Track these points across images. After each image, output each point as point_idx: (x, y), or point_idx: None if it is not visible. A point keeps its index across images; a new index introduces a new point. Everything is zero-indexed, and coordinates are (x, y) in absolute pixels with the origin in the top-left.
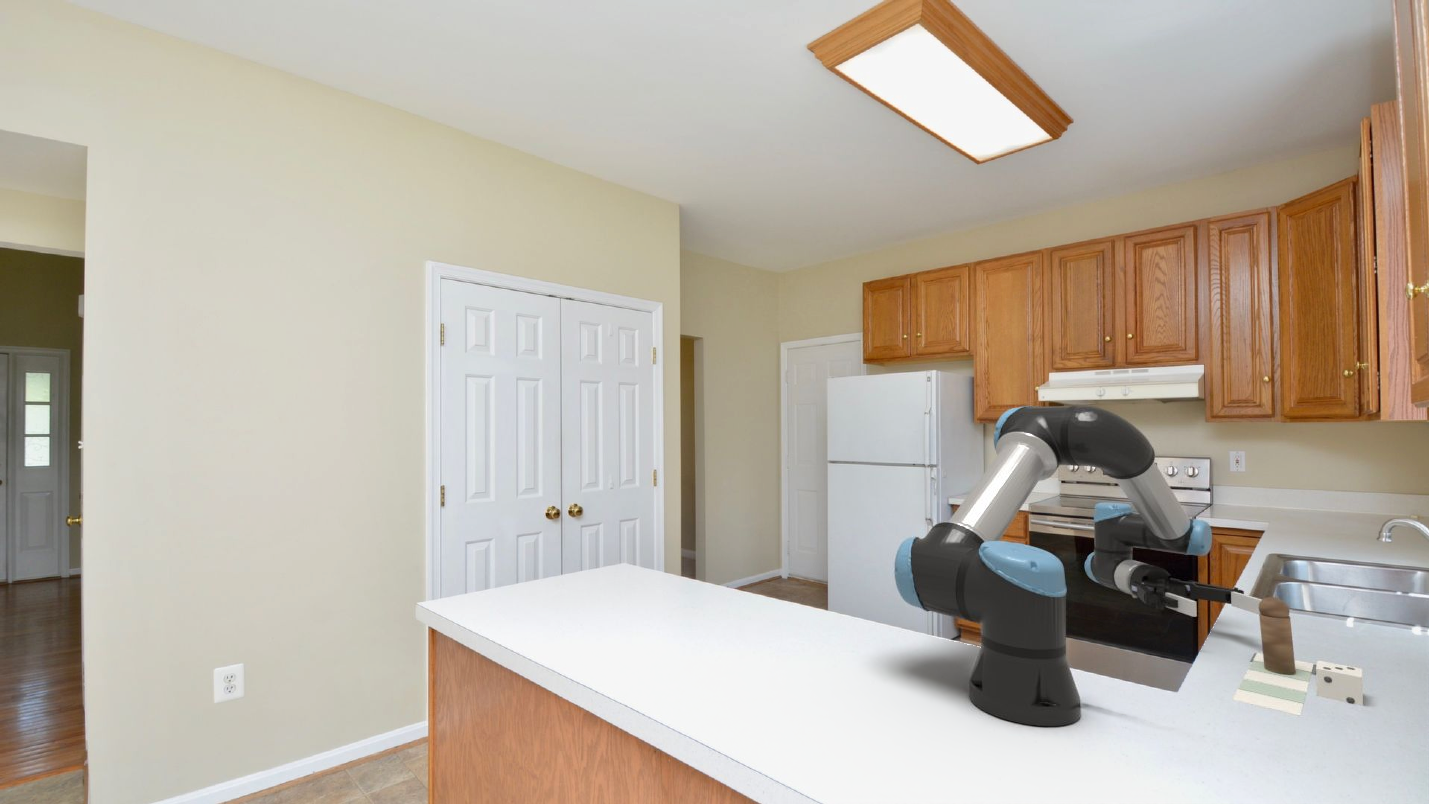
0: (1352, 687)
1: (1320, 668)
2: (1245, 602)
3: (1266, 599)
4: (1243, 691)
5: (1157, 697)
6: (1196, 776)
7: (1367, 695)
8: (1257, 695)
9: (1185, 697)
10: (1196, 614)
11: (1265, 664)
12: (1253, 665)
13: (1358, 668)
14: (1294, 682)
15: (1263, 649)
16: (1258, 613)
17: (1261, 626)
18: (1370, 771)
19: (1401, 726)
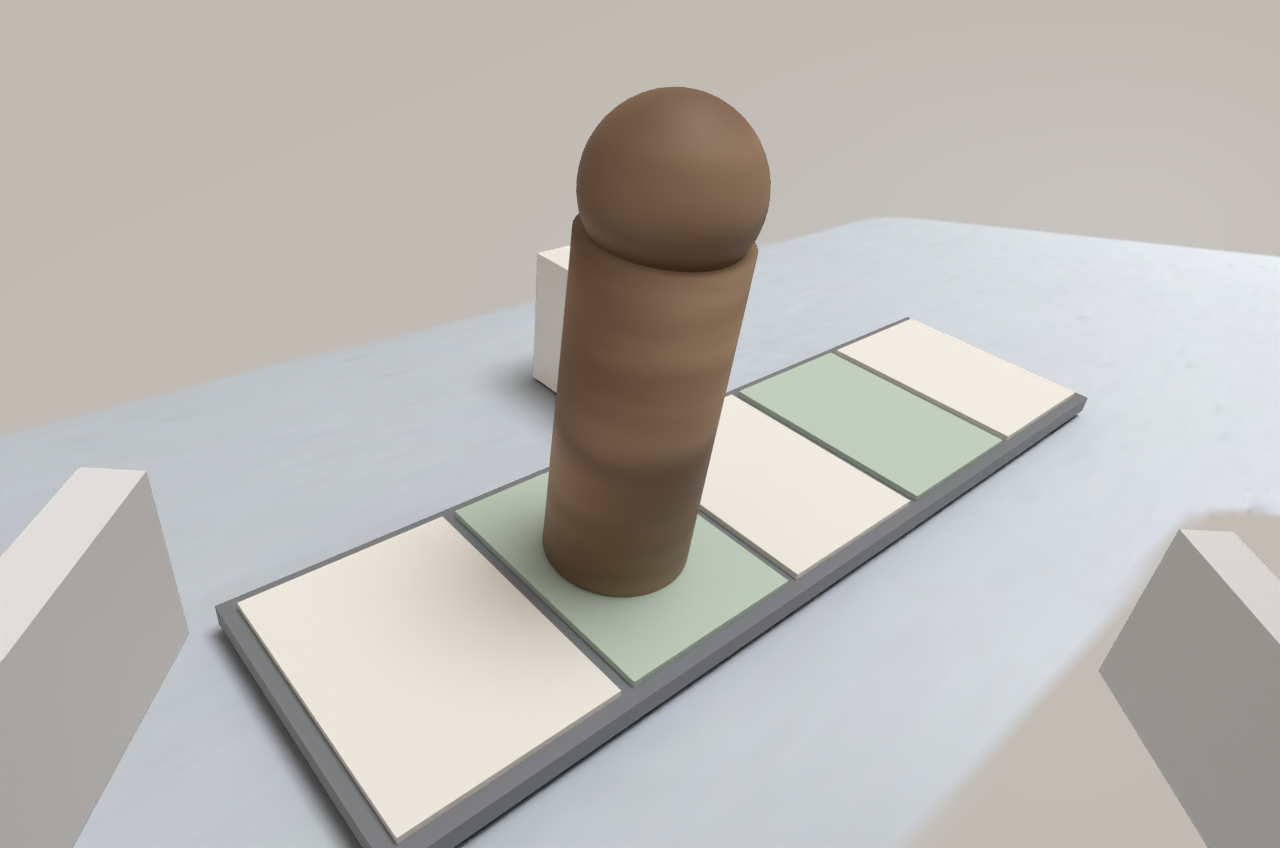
0: None
1: None
2: (3, 804)
3: (739, 117)
4: (996, 422)
5: None
6: (1270, 274)
7: (424, 407)
8: (959, 399)
9: (1224, 473)
10: (1110, 653)
11: (689, 543)
12: (707, 618)
13: (546, 256)
14: None
15: (703, 477)
16: (168, 665)
17: (736, 340)
18: (911, 243)
19: None
